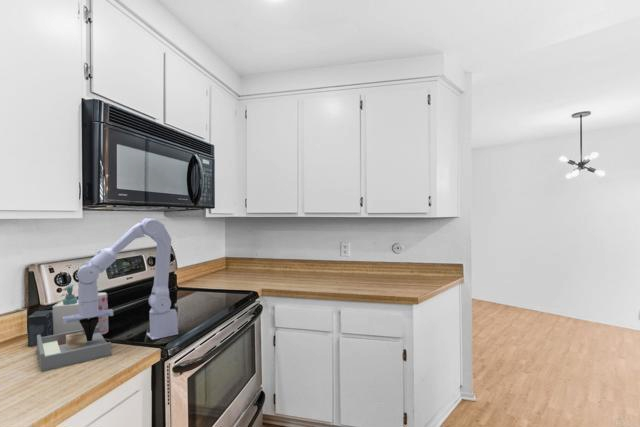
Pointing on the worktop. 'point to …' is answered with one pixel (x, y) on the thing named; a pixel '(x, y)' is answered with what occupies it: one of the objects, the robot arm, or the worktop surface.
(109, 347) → the trap tray
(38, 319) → the box
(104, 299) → the beverage can
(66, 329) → the soap bottle
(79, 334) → the maple block
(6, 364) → the worktop surface
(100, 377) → the worktop surface
